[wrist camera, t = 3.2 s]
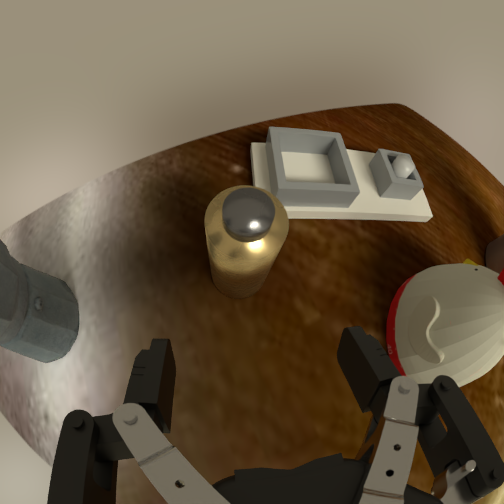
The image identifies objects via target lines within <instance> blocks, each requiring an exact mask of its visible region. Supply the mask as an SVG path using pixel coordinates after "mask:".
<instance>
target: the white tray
mask: <svg viewBox="0 0 504 504" xmlns="http://www.w3.org/2000/svg"><path fill="white" fill-rule="evenodd" d="M250 153H251V165H252V176H253V186H255V187H259V188H262V189H264V190H266V191H268V192H270V193H271V194H273V195H274V196H275V197H276V198H278V200H279V201H280V202H281V203H282V205H283V206H284V208H285V210H286V212H287V215H288V218H302V219H364V220H394V221H417V222H427V221H428V220H429V219H430V218H432V217H433V216H432V213H431V210H430V207H429V204H428V202H427V199H426V196H425V194H424V191H423V189H422V188H423V187H424V186H423V184H422V181H421V179H420V176H419V174H418V172H417V169H416V167H415V165H414V163H413V161H412V158H411V156H410V155H409V154H405V153H400V152H394V151H389V150H384V149H378V151H377V152H376V153H370V152H363V151H356V150H348V149H346V148H345V145H344V142H343V140H342V137H341V134H340V133H334V132H326V131H317V130H307V129H295V128H281V127H269V130H268V135H267V140H266V143H251V150H250Z"/></svg>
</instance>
